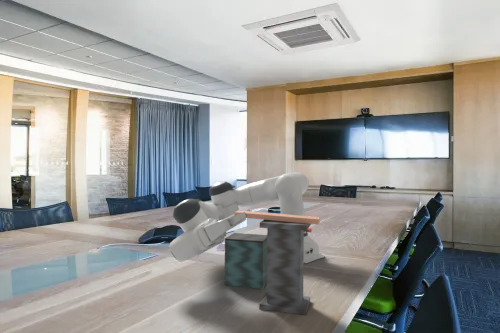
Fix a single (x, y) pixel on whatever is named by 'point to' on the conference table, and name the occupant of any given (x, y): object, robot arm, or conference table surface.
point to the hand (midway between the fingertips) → (247, 212)
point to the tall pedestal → (285, 267)
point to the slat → (280, 217)
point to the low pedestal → (246, 260)
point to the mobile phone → (221, 247)
